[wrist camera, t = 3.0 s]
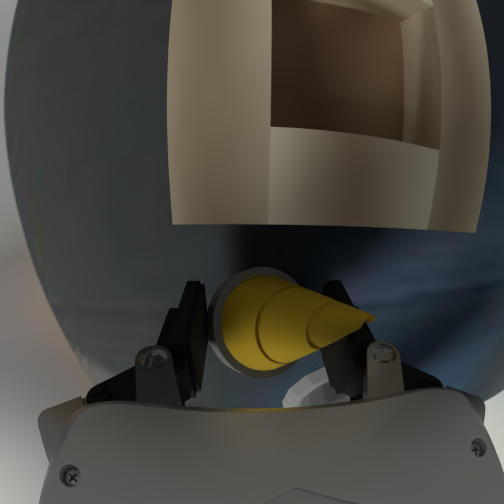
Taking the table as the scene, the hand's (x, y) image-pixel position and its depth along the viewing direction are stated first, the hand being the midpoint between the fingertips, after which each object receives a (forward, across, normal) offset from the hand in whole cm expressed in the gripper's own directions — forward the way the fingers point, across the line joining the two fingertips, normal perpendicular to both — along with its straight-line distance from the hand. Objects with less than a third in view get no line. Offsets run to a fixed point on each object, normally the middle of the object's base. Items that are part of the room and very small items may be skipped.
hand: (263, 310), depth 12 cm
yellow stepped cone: (+3, 0, 0) cm, 3 cm away
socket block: (+3, -3, -11) cm, 12 cm away
